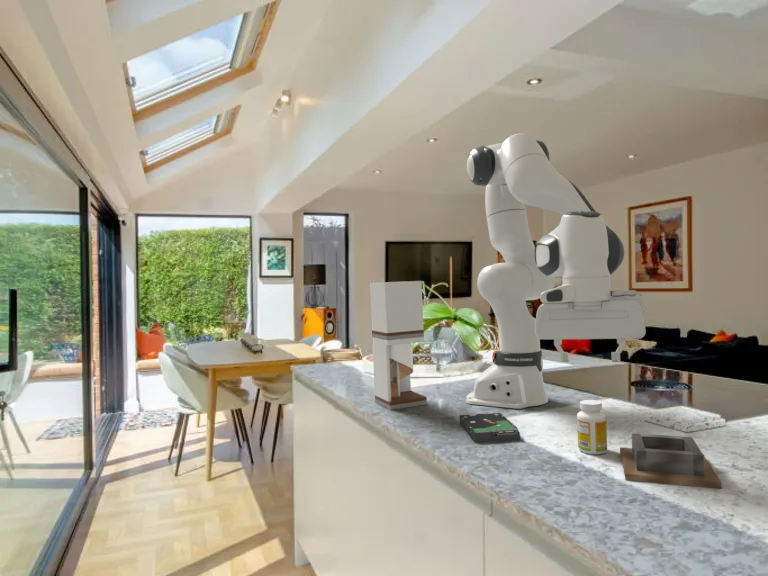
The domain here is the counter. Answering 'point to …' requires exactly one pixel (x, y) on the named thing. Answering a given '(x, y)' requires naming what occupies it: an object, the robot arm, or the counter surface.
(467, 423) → the disk drive
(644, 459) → the socket board
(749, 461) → the counter surface
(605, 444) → the supplement bottle
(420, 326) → the white tower
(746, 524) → the counter surface
